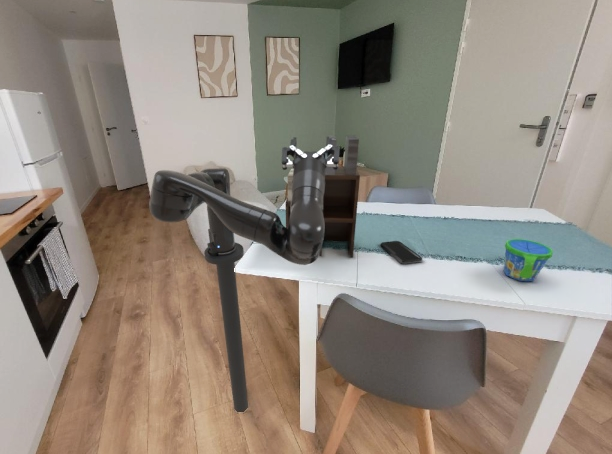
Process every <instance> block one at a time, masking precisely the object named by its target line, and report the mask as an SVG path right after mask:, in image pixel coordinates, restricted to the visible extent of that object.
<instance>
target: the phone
mask: <svg viewBox="0 0 612 454" xmlns="http://www.w3.org/2000/svg"><path fill="white" fill-rule="evenodd" d="M380 247H381V248H382V249H384V250H385V251H386V253H387V254H388V255H390V256H392V258H394V259H395V260H396V261H397V262H398V263H400V264H401V265H409V264H417V263H418V264H419V263H423V257H422V256H421V255H419V254H418V253H416V252H415V251H414V250H412V249H411V248H410V247H408V246H407V245H406V244H404V243H403V242H401V241H399V240H393V241H392V240H391V241H383V242H381V243H380Z"/></svg>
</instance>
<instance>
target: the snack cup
mask: <svg viewBox="0 0 612 454" xmlns="http://www.w3.org/2000/svg"><path fill="white" fill-rule="evenodd" d="M504 248H505V253H504V262H503V272H504V274H505V276H507V277H510V278H512V279H513V280H517V281H518V282H533V281H535V280H536V278H537V277H538V276H539V274H540V273H541V271H542V269H543V268H544V266H545V265H546V263H547V261H548V260H549V259H551V258H552V257H553V253H554V251H553V249H552V248H551V247H549V246H548V245H545V244H544V243H541V242H537V241H534V240H531V239H524V238H523V239H522V238H512V239H508V240H506V242H505V243H504Z"/></svg>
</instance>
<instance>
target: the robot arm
mask: <svg viewBox="0 0 612 454" xmlns="http://www.w3.org/2000/svg"><path fill="white" fill-rule="evenodd" d="M326 136H327V138H326V137H325V147H322V148H321V149H319V150H318V151H316V150H314V151H309V150H308V151H307V150H306V151H302V150H301V149H300V148H297V142H298V141H297V137H296V136H293V138H292V139H291V140H290V143H289V147H287V146H284V147H283V146H282V148H281V168H282V170H283V171H286V170H287V169H288V168H292V169H294V171H293V179H292V189H291V190H292V198H291V214H290V220H289V226H288V228H286V226H285V225H284V224H283V223H282V221H281V218H280V216H279V215H278V214H277V213H276V212H274V211H271V210H267V209H265V208H263V207H259V206H257V205H254V204H250V203H248V202H245V201H243V200H240V199H239V198H235V197H233V196H232V195H231V177H230V172H229V170H228V169H227V168H226V167H216V168H214V167H213V168H205V169H202V170H200V171H196V172H191V173H188V174H186V173H183V172H179V171H175V170H169V169H161V170H157V171H156V172H155V173H154V174H153V175H154V176H153V179H152V184H151V190H150V196H149V202H148V208H149V212H150V215H151V217H153V218H154V219H156V220H158V221H159V222H162V223H167V224H172V223H173V224H175V223H180V222H184V221H185V220H187V219H188V218H189V217H190V216H191V215H192V214H193V213H194V212H195V211H196V209H197V208H199V207H200V206H202V205H203V204H204V203H205V204H206V212H207V219H208V220H207V221H208V229H207V232H208V240H209V242H208V243H207V247H208V251H207V252H208V254H209V255H212V254H214V255H215V256H219V255H220V256H223V255H229V254H231V253H233V252H234V251H235V243H236V240H235V235H237V236H239V237H241V238H244V239H247V240H249V241H252V242H255V243H257V244H261V245H263V246H264V247H266V248H267V249H269V250H270V251H271V252H273V253H274V254H276V255H278V256H280V257H281V258H283V259H284V260H286V261H288V262H290V263H292V264H295V265H299V266H307V265H308V266H309V265H311V264H313V263H315V262H316V261H317V260H318V258H319V257H320V256H319V254H320V251H321V247H322V248H323V243H324V241H323V240H324V233H325V224H324V216H323V197H324V192H325V169H326V167H333V169H335V170H336V169H338V167H339V164H340V163H339V161H340V150H341V149H340V148H341V147H340V146H339V145H336V146H335V147H333V146H332V139H331V138H329V136H330V135H326ZM331 154H333V155H334V157H332V159H330V161H327V158H328V157H329V156H330V155H331ZM289 156H291V157H292V158H293V160H292V161H291V159H290V158H289ZM209 251H210V252H211V253H212V254H211V253H210V252H209Z"/></svg>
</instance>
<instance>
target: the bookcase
mask: <svg viewBox="0 0 612 454" xmlns="http://www.w3.org/2000/svg"><path fill="white" fill-rule="evenodd" d="M327 136H329V138H331V139H332V146H333V147H335V146H337V141H338V140H337V137H336V135H326V136H325V139H326V138H327ZM359 143H360V139H359V138H358V137H357V136H356V135H355V134H354V135H352V134H351V135H346V136H345V144H344V145H345V146H344V163H343V166H338V169H336V170H335V169H333V167H326V169H325V192H324V197H323V216H324V224H325V233H324V240H323V242H337V243H338V242H340V243H347V248H348V253H349V254H348V255H349V258H350V259H353V258H354V251H355V250H354V249H355V238H356V237H355V236H356V227H357V226H356V224H357V212H358V204H359V203H358V202H359V191H360V179H361V174H360V172H359V171H358V169H357V168H358V157H359V156H358V155H359ZM332 157H334V155H333V154H331V155H330V156H329V157H328V158H327V161H330V159H332ZM293 171H294V168H291V169H290V170H289V172H288V174H287V197H286V200H285V227H286V228H288V226H289V220H290V214H291V198H292V190H291V189H292V179H293ZM319 257H323V246H322V247H321V251H320V254H319Z"/></svg>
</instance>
